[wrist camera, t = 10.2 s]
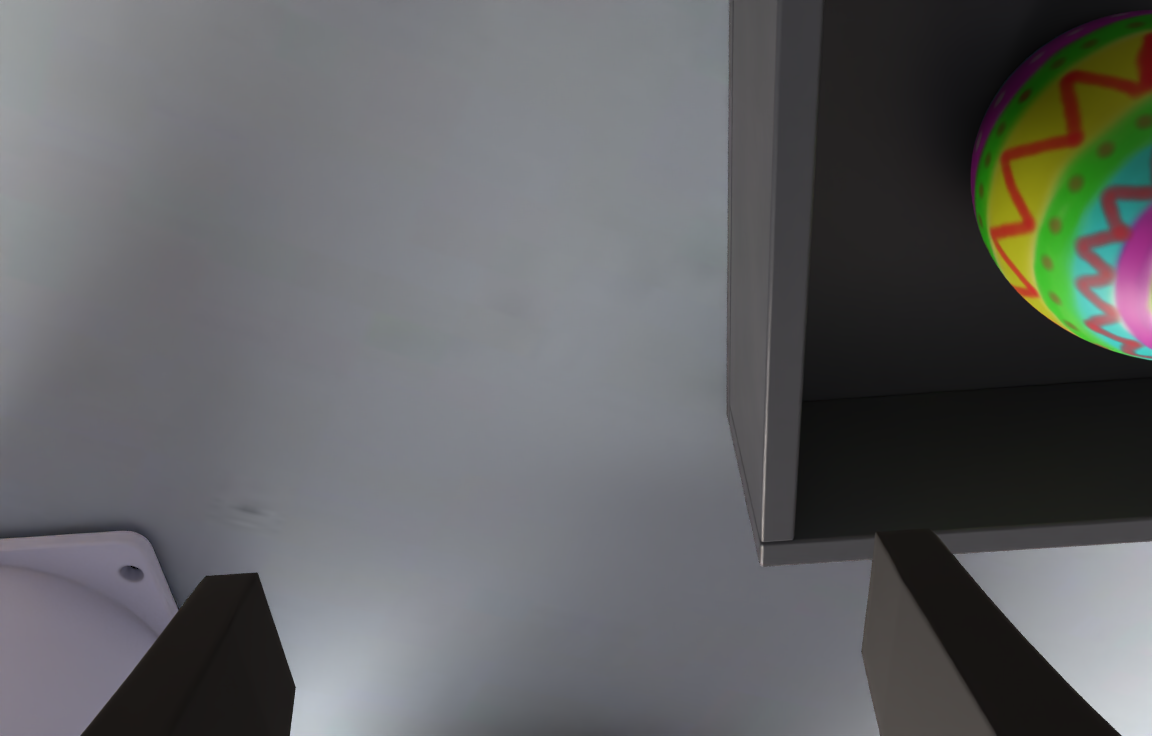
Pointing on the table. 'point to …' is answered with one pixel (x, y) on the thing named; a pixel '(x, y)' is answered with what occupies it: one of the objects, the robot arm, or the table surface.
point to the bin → (904, 297)
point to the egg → (1075, 181)
